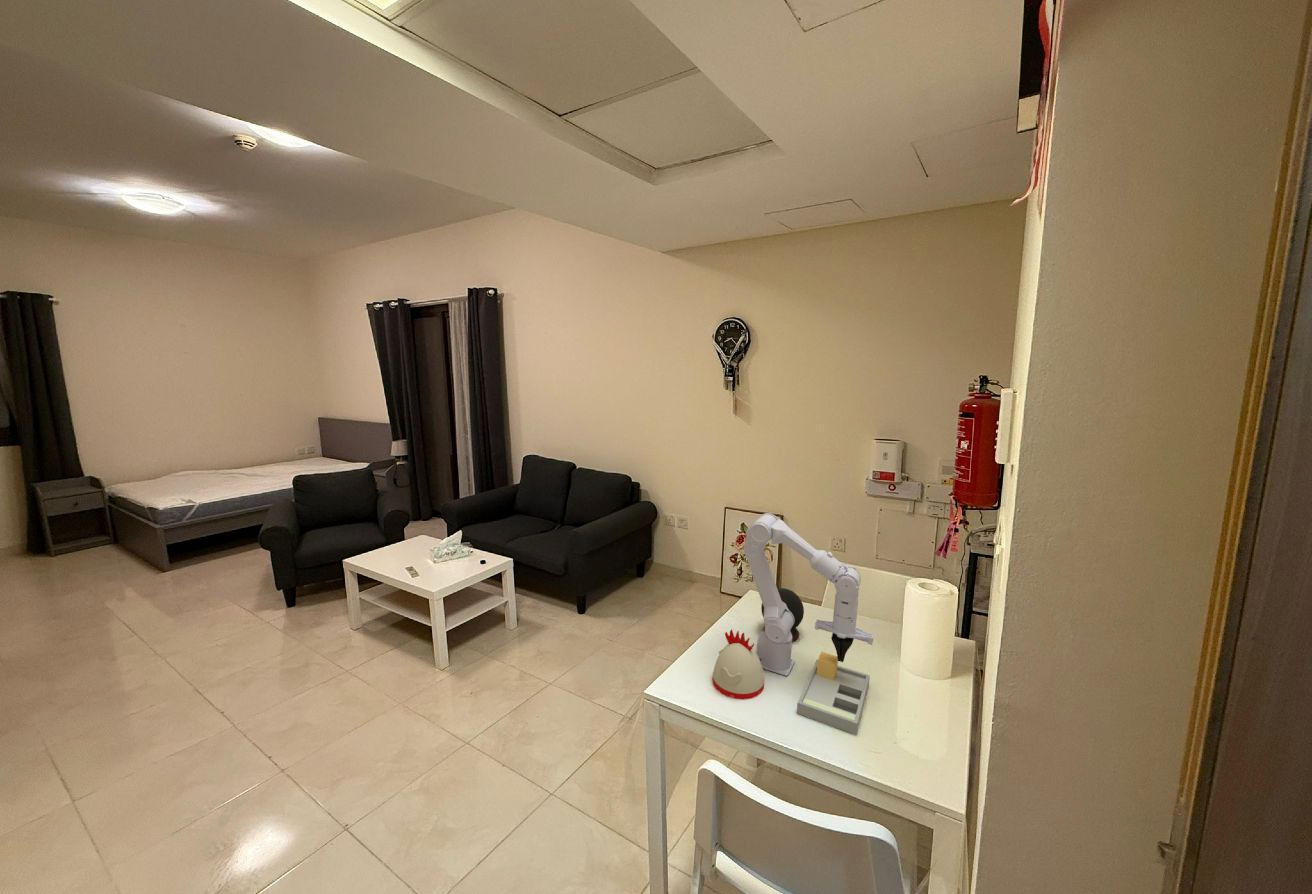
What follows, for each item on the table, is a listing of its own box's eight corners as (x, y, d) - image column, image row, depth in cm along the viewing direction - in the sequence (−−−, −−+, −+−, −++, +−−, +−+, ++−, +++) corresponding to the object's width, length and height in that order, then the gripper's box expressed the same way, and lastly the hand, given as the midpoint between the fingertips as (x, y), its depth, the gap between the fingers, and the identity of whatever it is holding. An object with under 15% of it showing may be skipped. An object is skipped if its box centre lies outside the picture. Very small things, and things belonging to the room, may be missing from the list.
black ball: (752, 626, 164) (754, 583, 161) (787, 620, 168) (790, 578, 165) (773, 648, 151) (776, 602, 149) (810, 641, 155) (813, 596, 153)
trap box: (796, 713, 124) (797, 702, 123) (816, 668, 141) (816, 659, 141) (856, 735, 117) (857, 723, 116) (868, 685, 135) (869, 675, 134)
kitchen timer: (724, 661, 145) (726, 614, 142) (770, 676, 138) (773, 627, 135) (704, 688, 133) (705, 636, 130) (753, 706, 126) (756, 652, 124)
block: (816, 674, 136) (817, 659, 135) (820, 666, 139) (821, 651, 139) (833, 680, 133) (834, 665, 133) (837, 671, 137) (838, 656, 136)
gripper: (813, 612, 132) (810, 658, 134) (872, 628, 124) (867, 676, 127) (819, 601, 138) (816, 645, 140) (876, 615, 130) (871, 662, 133)
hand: (841, 659), depth 134 cm, fingers closed
